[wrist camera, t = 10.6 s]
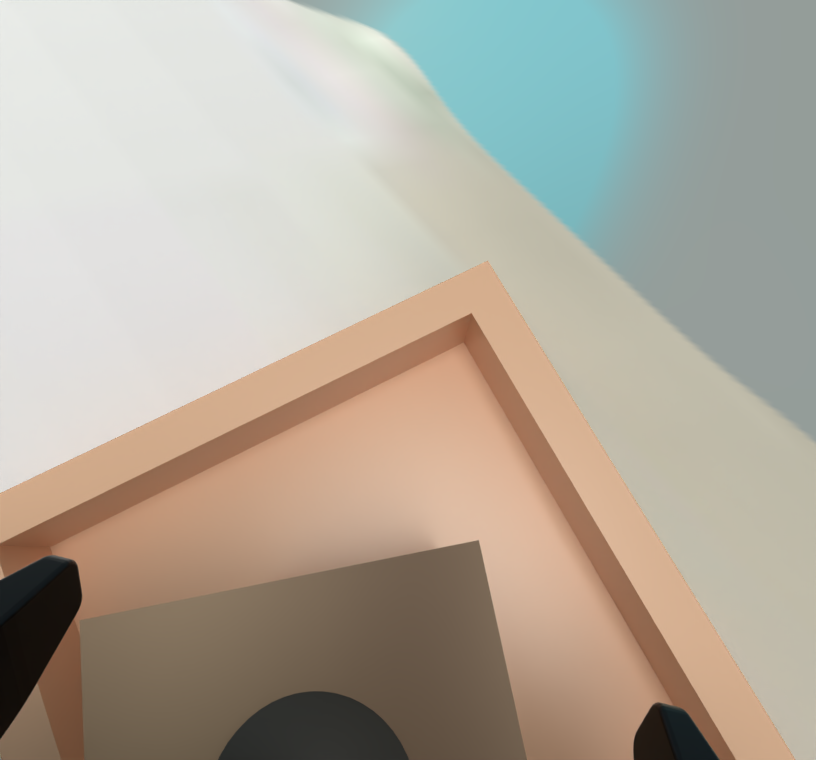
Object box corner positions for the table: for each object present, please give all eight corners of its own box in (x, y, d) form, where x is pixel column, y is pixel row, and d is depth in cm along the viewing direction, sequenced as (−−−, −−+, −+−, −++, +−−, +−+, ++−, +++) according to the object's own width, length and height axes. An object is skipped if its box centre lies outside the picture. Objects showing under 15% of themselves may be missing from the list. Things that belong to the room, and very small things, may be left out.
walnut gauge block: (289, 783, 15) (94, 1158, 6) (266, 583, 17) (77, 620, 7) (477, 741, 16) (587, 1034, 6) (439, 548, 17) (479, 540, 8)
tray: (212, 1158, 14) (160, 1317, 11) (10, 529, 18) (-66, 524, 15) (769, 793, 16) (848, 845, 13) (476, 303, 20) (487, 260, 17)
